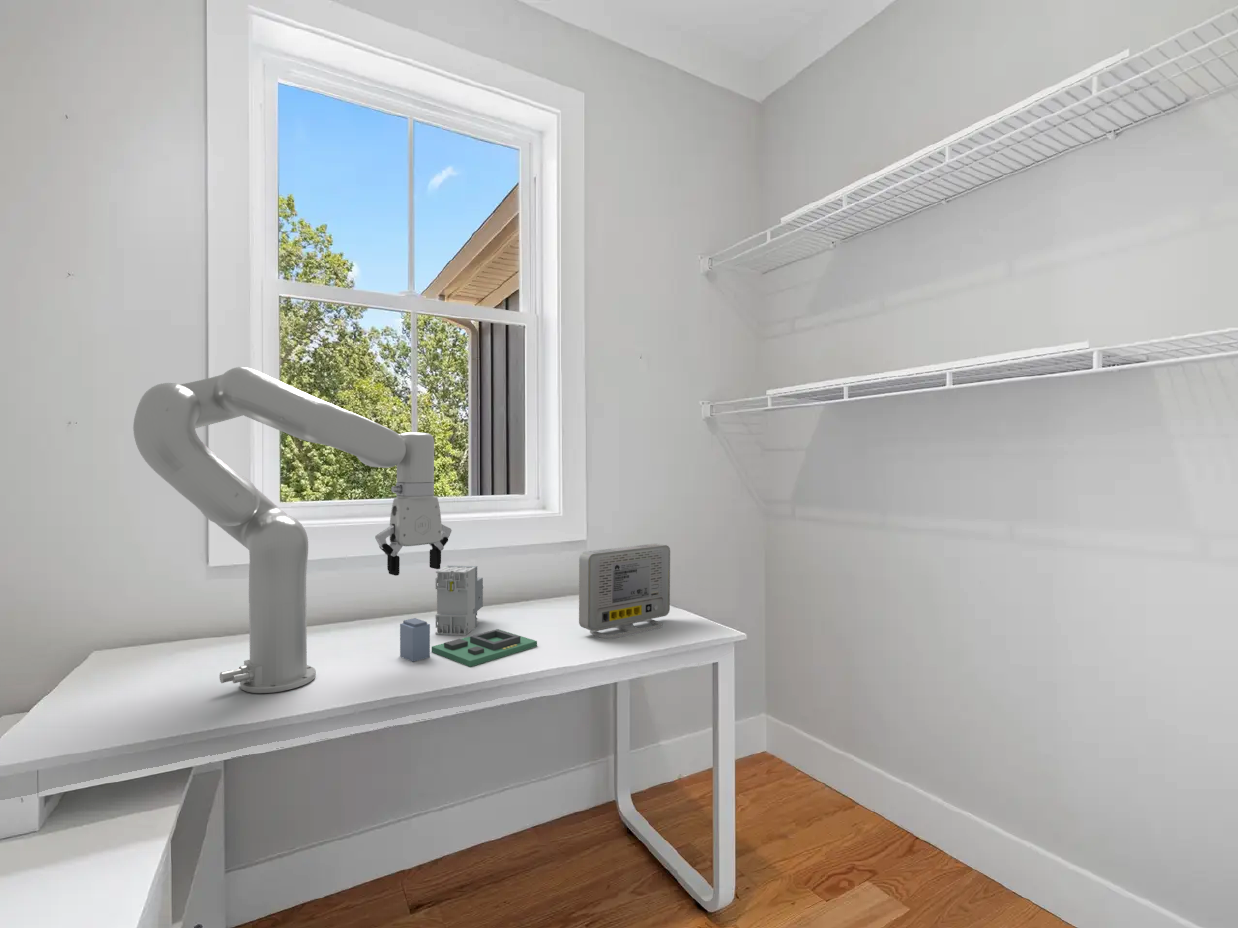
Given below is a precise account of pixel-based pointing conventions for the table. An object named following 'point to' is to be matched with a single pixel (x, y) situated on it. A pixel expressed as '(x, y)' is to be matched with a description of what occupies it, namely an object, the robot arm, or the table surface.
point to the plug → (414, 639)
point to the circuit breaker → (458, 599)
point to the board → (483, 647)
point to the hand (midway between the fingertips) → (414, 571)
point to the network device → (624, 588)
